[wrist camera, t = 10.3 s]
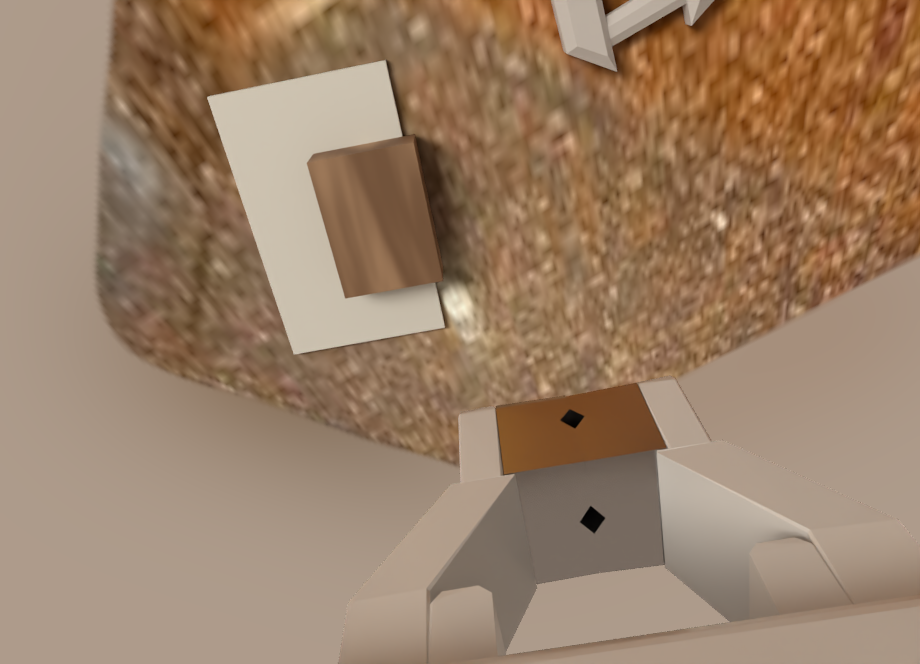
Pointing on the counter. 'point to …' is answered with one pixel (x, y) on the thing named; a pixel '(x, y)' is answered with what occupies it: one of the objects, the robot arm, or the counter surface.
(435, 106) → the counter surface
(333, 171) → the block
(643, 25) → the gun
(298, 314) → the mat
